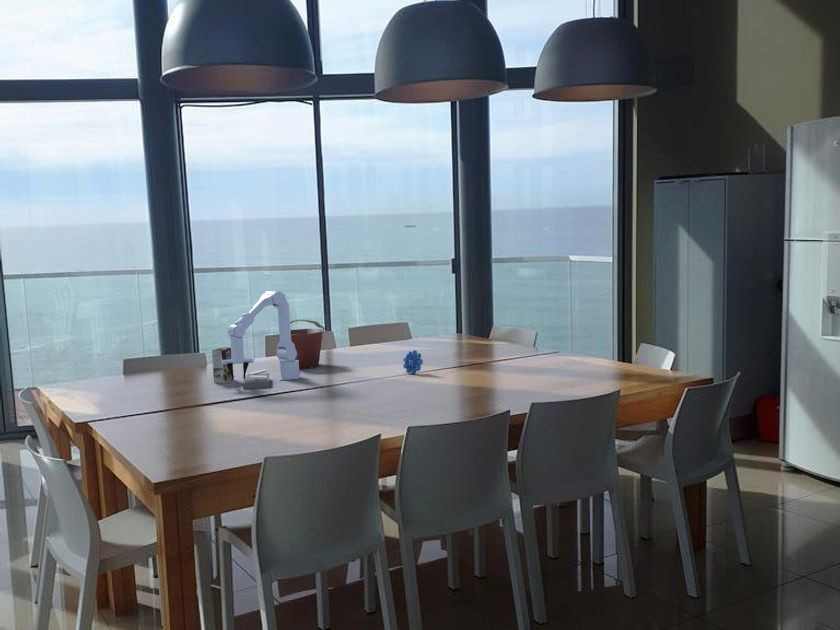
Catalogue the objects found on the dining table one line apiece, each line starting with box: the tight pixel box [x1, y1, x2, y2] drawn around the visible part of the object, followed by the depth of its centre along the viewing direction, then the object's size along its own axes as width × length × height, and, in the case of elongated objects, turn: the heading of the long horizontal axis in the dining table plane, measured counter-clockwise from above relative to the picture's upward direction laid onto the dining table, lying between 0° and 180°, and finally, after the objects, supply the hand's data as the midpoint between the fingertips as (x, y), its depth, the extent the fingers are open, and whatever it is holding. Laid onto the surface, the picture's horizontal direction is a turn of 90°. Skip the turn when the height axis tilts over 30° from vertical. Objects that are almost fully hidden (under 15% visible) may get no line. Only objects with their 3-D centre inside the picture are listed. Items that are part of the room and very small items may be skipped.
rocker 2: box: [245, 374, 267, 379], centre depth 391 cm, size 10×3×1 cm, turn 101°
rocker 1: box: [245, 368, 267, 376], centre depth 402 cm, size 10×3×1 cm, turn 100°
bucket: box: [290, 318, 325, 370], centre depth 439 cm, size 24×22×25 cm
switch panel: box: [242, 372, 271, 390], centre depth 397 cm, size 12×20×3 cm, turn 11°
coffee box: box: [211, 347, 232, 384], centre depth 407 cm, size 9×6×16 cm
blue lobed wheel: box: [402, 349, 424, 375], centre depth 408 cm, size 12×7×12 cm, turn 55°
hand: (238, 378), depth 390 cm, fingers open, 5 cm apart
